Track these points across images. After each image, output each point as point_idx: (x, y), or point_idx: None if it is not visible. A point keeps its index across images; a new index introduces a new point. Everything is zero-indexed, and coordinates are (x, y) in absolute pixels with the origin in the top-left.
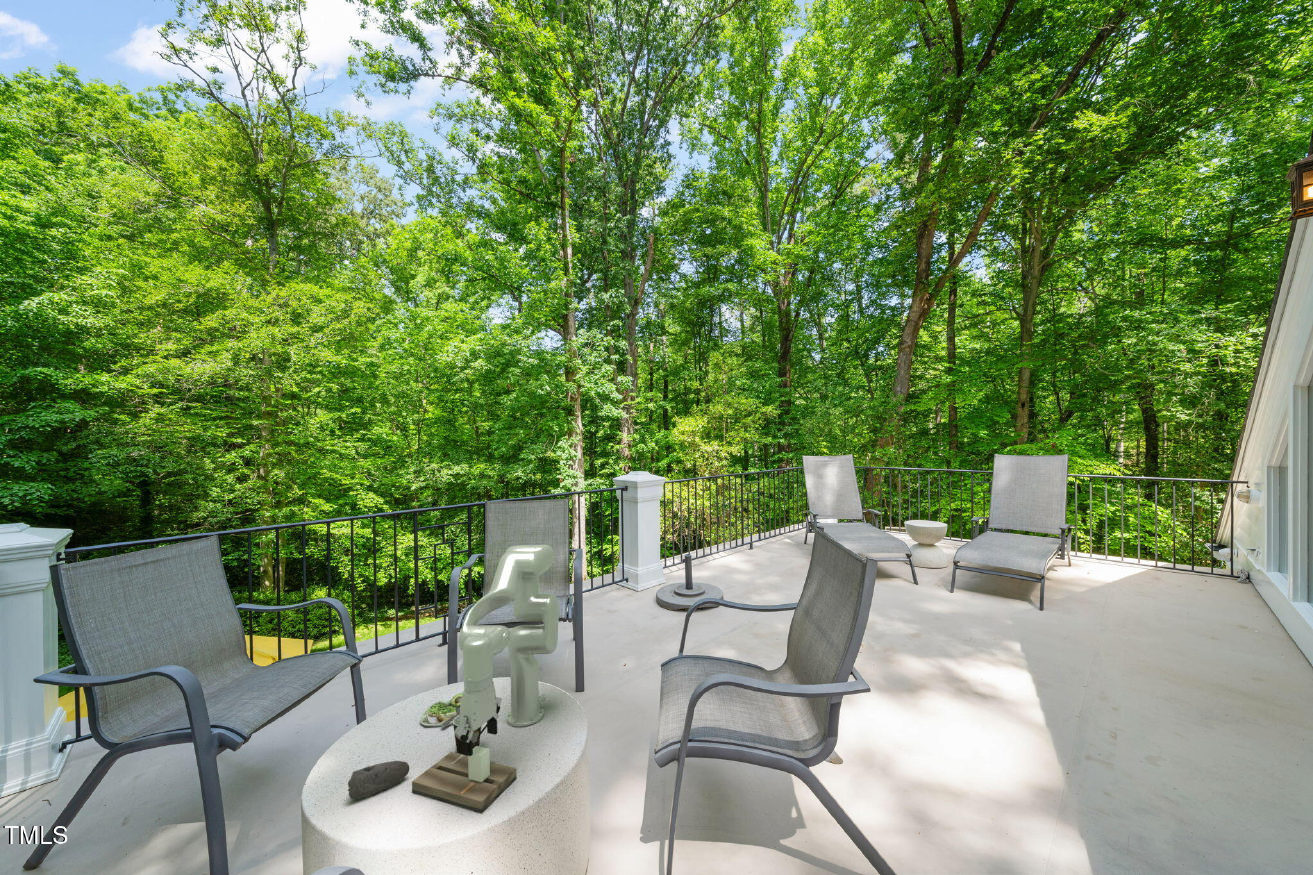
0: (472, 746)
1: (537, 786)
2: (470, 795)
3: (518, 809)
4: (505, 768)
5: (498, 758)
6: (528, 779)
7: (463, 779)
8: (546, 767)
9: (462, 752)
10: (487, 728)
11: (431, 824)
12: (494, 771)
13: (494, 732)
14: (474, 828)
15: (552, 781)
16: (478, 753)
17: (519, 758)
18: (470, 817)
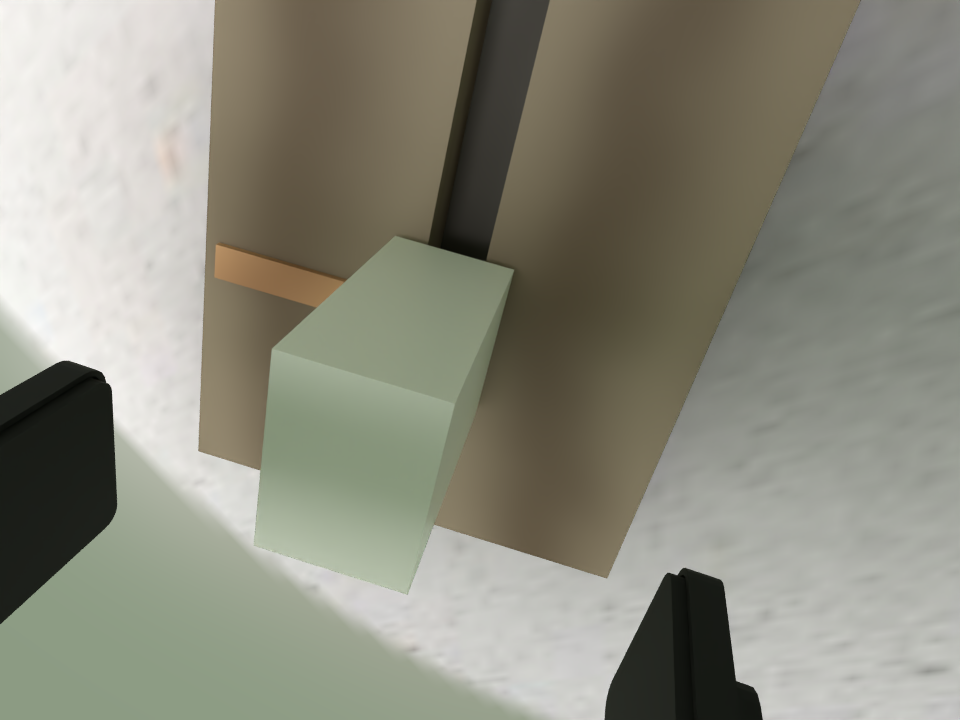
0: (3, 612)
1: (534, 650)
2: (229, 343)
3: (328, 593)
4: (598, 499)
5: (946, 274)
6: (603, 591)
7: (403, 169)
8: (742, 672)
9: (56, 372)
10: (669, 641)
11: (53, 91)
12: (550, 422)
13: (611, 712)
14: (132, 411)
15: (586, 716)
16: (286, 496)
17: (905, 471)
18: (196, 349)
